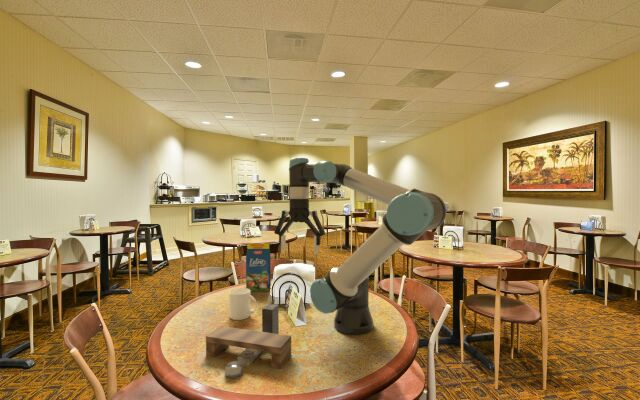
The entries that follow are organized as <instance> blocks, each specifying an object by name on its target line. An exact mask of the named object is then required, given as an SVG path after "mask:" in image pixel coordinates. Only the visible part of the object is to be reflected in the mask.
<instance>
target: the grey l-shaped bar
mask: <svg viewBox="0 0 640 400" xmlns="http://www.w3.org/2000/svg"><path fill="white" fill-rule="evenodd" d="M261 320H262V321H261V324H262V326H261V327H262V329H261V332H267V333H274V334H280V332H279V331H280V330H279V304H273V303H272V304H271V303H267V304H266V305H265V306H264V307H262V308H261ZM262 353H263V351H260V350H253V349H247V348H244V350H243V351H242V352H241V353H240V354H238V356H237V361H240V362H242V363H243V365H247V366H250V365H251V364H252V363H253V362H254V361H255V360H256V359H257V358H258V357H259V356H260V354H262Z"/></svg>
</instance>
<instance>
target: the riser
mask: <svg viewBox="0 0 640 400" xmlns="http://www.w3.org/2000/svg"><path fill="white" fill-rule="evenodd" d="M229 346H230V347H236V348H243V349H246V348H247V349H253V350H260V351H262V352H266V353H267V352H268V353H270V354H271V355H270V356H271V359H270V360H271V368H274V369H279V370H280V369H282V368H283V366H285V364H286V363H287V361H289V358H290V357H291V356H292V335H287V334H281V333H279V334H274V333H267V332H262V331H260V330H252V329H246V328H245V329H244V328H238V327H231V326H223V325H220V326H219V327H218V328H216V329H214V330H213V331H211V332H210V333H209V334H207V335H206V336H205V356H206V357H207V356H208V357H213V358H215V357H216V356H217V355H218V354H220V353H221V352H222V351H223V350H224V349H226V348H227V347H229Z"/></svg>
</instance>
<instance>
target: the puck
mask: <svg viewBox="0 0 640 400" xmlns="http://www.w3.org/2000/svg"><path fill="white" fill-rule="evenodd" d="M224 374H225V375H224V376H225V377H226V378H227V379H232V380H233V379H238V378H240V377H242V375H243V374H244V364H243V363H242V362H240V361H238V360H233V361H230V362H228V363H227V364H225V366H224Z"/></svg>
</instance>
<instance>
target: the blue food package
mask: <svg viewBox="0 0 640 400" xmlns="http://www.w3.org/2000/svg"><path fill="white" fill-rule="evenodd" d="M246 245H247V246H246V248H247V249H246V253H245V284H246V285H245V288H246V289H250V291H251V292H270V290H271V288H270V286H271V283H272V282H271V279H272V277H271V276H272V275H271V271H272V270H271V250H270V244H269V243H247V244H246ZM271 287H272V286H271Z"/></svg>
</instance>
